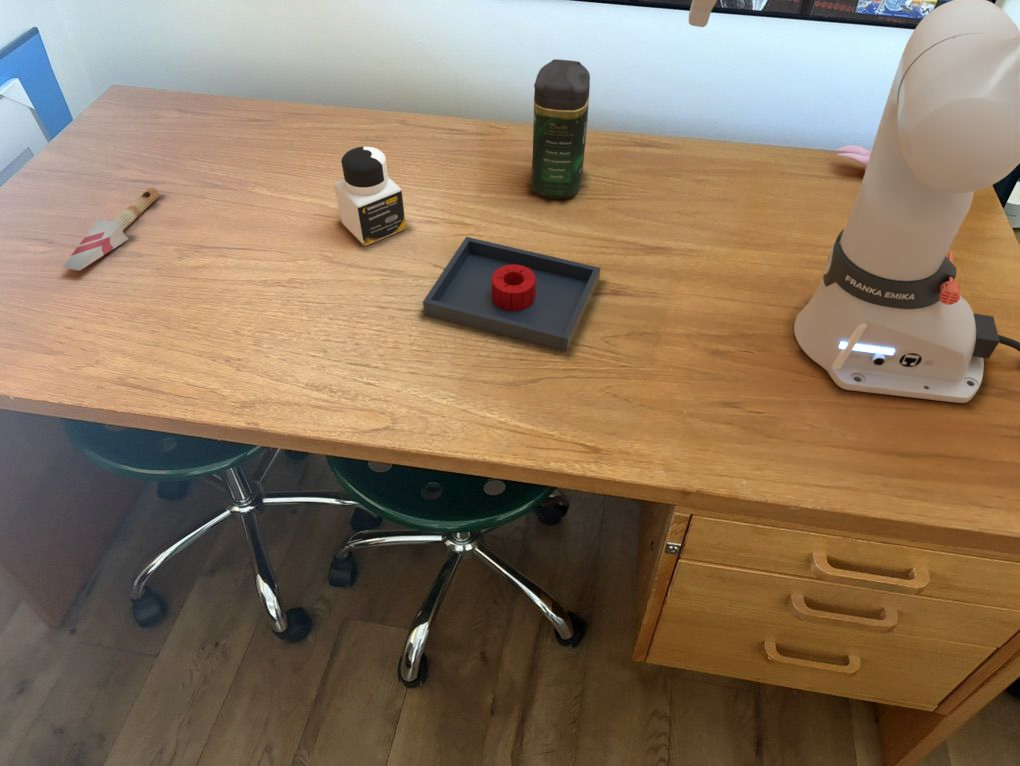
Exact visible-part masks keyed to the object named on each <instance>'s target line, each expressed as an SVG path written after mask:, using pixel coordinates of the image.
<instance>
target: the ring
mask: <svg viewBox="0 0 1020 766" xmlns="http://www.w3.org/2000/svg"><path fill="white" fill-rule="evenodd" d="M491 282H492V299H493V302H494V304H496V305H497V306H498V307H499V308H501V309H503V310H507V311H521V310H522V309H523V310H524V309H526V308H528V307H530V306H531V305H532V304H533V302H534V300H535V295H536V278H535V275H534V273H533V271H531V270H530V269H529V268H527V267H525V266H521V265H517V264H516V265H515V264H514V265H505V266H503V267H501V268H499V269H497V270H496V271H495V272H494V274H493V276H492V278H491Z"/></svg>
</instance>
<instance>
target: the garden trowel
mask: <svg viewBox="0 0 1020 766" xmlns="http://www.w3.org/2000/svg"><path fill="white" fill-rule="evenodd" d="M159 198H160V193H159V191H158V189H156V188H154V187H148V188H147V189H146V190H145V191H144V192H143V193H142V194H141V195H140V196H139V197H138V198H137V199H136V200H134V201H133V202H132V203H131V204H130V205H129V206H127V208H126V209H124V210H123V211H122V212H121V213H120V214H119V215H117V217H116V218H115V219H112V220H107V219H101V218H98V219H97V221H96V222H95V223H94V224H93V226H92V228H91V229H90V230H89V231H88V232H87V234H86V235H85V237H83V238H82V240H81V242H80V243H79V244H78V246H77V247H76V248H75V250H74V251H73V252H72V253H71V254H70V256H69V257H68V259H67V260H66V261H65V263H64V264H63V265H62V268H64V269H70V270H74V271H80V272H81V271H82V270H83V269H85V268H86V267H88V266H89V265H91V264H93V263H94V262H95V261H97V260H99V259H101V258H102V257H104V256H105V255H106V254H108V253H110V252H111V251H113V250H114V249H116V248H117V247H119V246H120V245H122V244H124V243H125V242H127V241H128V240H130V238H129V237H128V236H127V235H126V234H125V233H124V230H126V228H128V227H129V226H130V225H131V224H132V223H133V222H134V221H135V220H136V219H137V218H138V217H140V215H141V214H143V213H144V211H146V209H148V208H149V207H150V206H151V205H152V204H153V203H154V202H155V201H156V200H157V199H159Z"/></svg>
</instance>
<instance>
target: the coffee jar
mask: <svg viewBox="0 0 1020 766" xmlns="http://www.w3.org/2000/svg"><path fill="white" fill-rule="evenodd" d="M590 83H591V74H590V72H589V70H588V69H587V68H586V66H584V65H583V64H582V63H581V61H576V60H569V59H557V58H556V59H555V58H554V59H552V60H551V61H550V62H548V63H546V64H544V65H543V66H542V67H541V68H540V69H539V71H538V73H537V74H536V78H535V82H534V84H533V88H534V93H533V94H534V95H533V126H532V127H533V128H532V156H531V157H532V159H531V160H532V161H531V190H532V191H533V192H534V193H535V194H537V195H538V196H542V197H545V198H548V199H554V200H560V199H561V200H562V199H567V198H572V197H574V196H576V195H577V194H578V192H579V190H580V189H581V186H582V181H583V173H584V161H585V150H586V142H587V141H586V140H587V133H588V132H587V131H588V121H589V120H588V119H589V118H588V117H589V104H590V87H591V84H590Z"/></svg>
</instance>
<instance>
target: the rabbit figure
mask: <svg viewBox="0 0 1020 766" xmlns="http://www.w3.org/2000/svg"><path fill="white" fill-rule="evenodd" d="M871 151H872V149H869V150H868V149H866V148H865V147H863V146H860V145H854V144H849V145H845V146H842V147H840V148H838V149H837V152H841V153H837V154H836V157H841V158H848V159H851V160H853V161H855V162H856V163H859V164H860V165H861V166H862V167H863V170H864V172H865V171H866V168H867V165H868V161H869V158H870V154H871Z"/></svg>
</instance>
